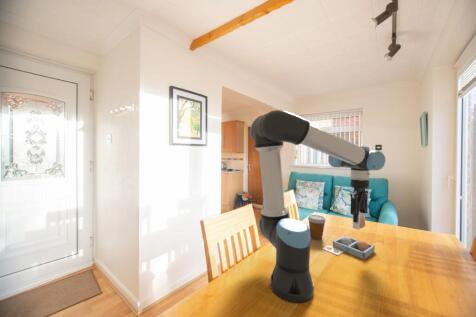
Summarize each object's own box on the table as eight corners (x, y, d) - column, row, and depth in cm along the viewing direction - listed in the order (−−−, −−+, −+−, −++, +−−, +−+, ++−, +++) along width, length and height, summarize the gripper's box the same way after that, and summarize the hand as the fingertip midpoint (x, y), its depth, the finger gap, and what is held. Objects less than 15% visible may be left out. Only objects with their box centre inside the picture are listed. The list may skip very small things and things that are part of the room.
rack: (364, 259, 93) (364, 253, 93) (332, 247, 105) (332, 241, 105) (374, 251, 101) (374, 245, 101) (344, 240, 113) (344, 235, 112)
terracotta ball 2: (366, 254, 98) (366, 244, 98) (355, 250, 102) (355, 240, 102) (370, 251, 101) (370, 241, 101) (359, 247, 105) (359, 238, 105)
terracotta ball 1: (362, 231, 92) (362, 220, 92) (351, 227, 96) (351, 217, 96) (367, 228, 95) (367, 217, 95) (355, 225, 99) (355, 215, 99)
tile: (337, 255, 96) (337, 254, 96) (322, 248, 103) (322, 247, 103) (343, 252, 100) (343, 251, 100) (328, 245, 106) (328, 244, 106)
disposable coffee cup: (327, 241, 111) (328, 220, 111) (310, 241, 111) (311, 219, 111) (321, 234, 121) (321, 214, 120) (305, 234, 121) (305, 214, 121)
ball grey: (348, 249, 102) (349, 240, 102) (339, 246, 106) (339, 236, 106) (353, 247, 105) (353, 237, 105) (343, 243, 109) (343, 234, 109)
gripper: (359, 181, 87) (358, 234, 88) (376, 178, 97) (375, 225, 98) (342, 179, 93) (341, 229, 94) (359, 176, 103) (358, 221, 104)
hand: (358, 227), depth 96 cm, fingers closed on terracotta ball 1, 5 cm apart
